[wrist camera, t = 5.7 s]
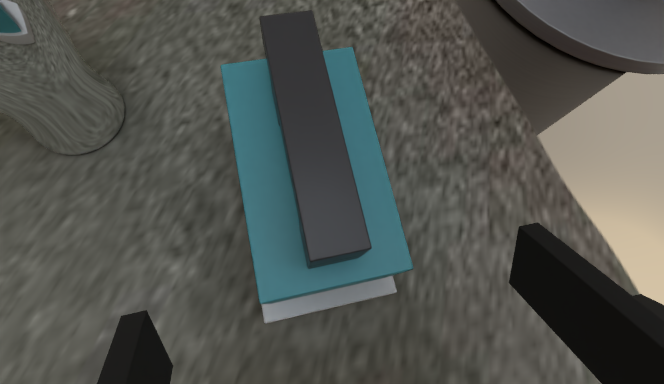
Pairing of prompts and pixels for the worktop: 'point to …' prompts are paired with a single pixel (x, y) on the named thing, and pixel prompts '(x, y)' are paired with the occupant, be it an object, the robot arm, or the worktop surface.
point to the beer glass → (53, 82)
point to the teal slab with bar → (311, 174)
